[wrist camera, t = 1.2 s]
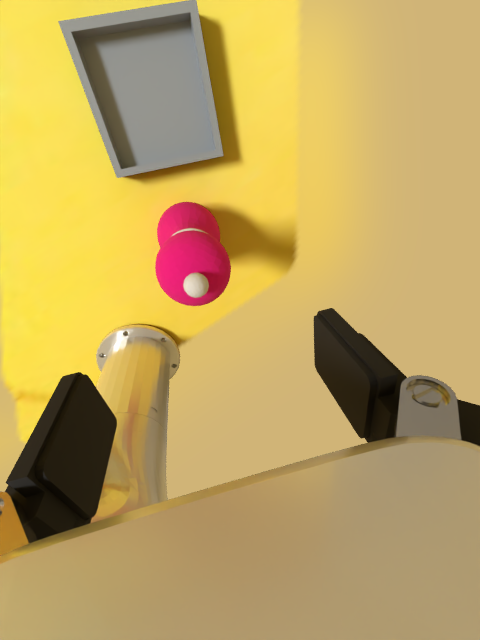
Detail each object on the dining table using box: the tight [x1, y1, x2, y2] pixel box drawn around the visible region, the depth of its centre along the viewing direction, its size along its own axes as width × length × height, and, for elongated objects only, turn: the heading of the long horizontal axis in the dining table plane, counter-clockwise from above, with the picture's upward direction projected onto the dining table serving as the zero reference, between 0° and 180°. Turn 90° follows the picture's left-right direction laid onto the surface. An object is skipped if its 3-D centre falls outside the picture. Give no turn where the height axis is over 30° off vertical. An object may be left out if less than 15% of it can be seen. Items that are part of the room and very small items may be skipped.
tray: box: [58, 0, 223, 178], centre depth 27 cm, size 12×12×2 cm
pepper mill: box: [155, 202, 231, 306], centre depth 27 cm, size 7×7×20 cm
